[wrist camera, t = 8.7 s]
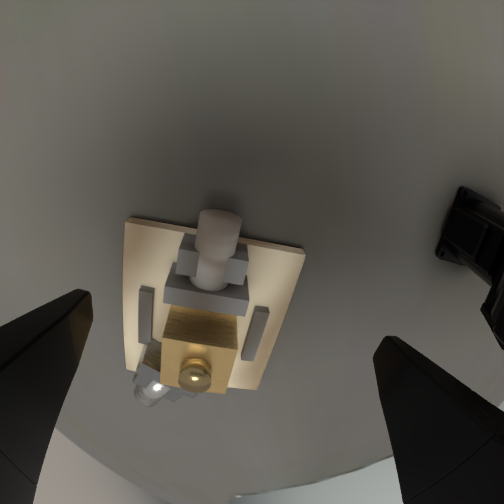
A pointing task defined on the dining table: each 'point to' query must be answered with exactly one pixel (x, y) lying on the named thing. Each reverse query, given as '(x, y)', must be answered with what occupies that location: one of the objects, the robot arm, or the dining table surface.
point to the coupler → (198, 350)
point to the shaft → (153, 378)
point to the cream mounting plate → (207, 285)
